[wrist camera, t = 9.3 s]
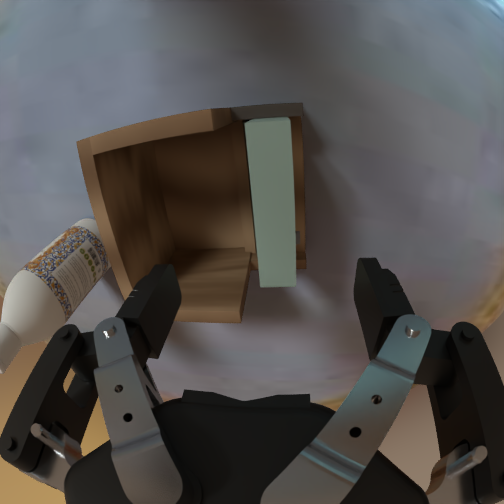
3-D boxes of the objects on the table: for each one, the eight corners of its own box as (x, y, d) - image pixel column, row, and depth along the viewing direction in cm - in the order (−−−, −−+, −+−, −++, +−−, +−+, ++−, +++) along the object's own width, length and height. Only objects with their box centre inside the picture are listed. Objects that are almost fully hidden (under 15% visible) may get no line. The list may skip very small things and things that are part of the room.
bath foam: (92, 205, 27) (-36, 319, 10) (128, 251, 30) (27, 388, 13) (67, 234, 30) (-36, 338, 13) (99, 274, 32) (14, 392, 15)
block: (257, 117, 22) (244, 123, 14) (291, 115, 21) (298, 120, 14) (266, 231, 27) (260, 287, 19) (297, 230, 27) (302, 286, 19)
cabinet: (142, 123, 23) (76, 141, 14) (298, 103, 21) (311, 101, 12) (170, 256, 30) (132, 318, 21) (304, 252, 28) (311, 322, 19)
